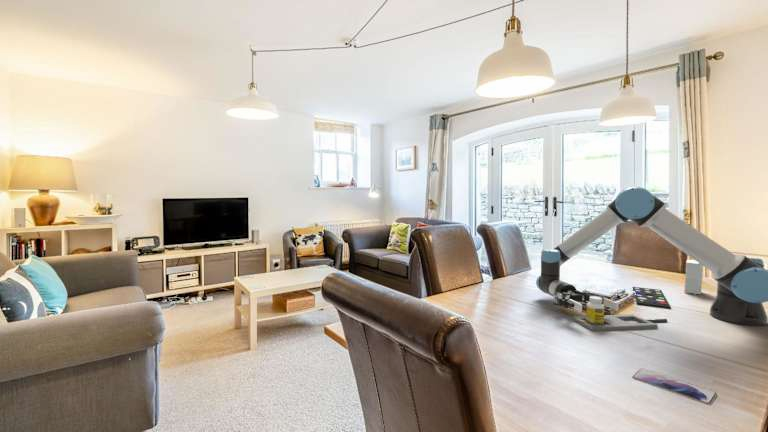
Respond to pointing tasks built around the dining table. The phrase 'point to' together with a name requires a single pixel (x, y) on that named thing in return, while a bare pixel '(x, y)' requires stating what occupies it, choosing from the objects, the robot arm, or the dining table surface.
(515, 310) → the dining table surface
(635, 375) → the smartphone
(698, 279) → the skincare box
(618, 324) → the socket strip
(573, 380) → the dining table surface
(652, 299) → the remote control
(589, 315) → the supplement bottle
